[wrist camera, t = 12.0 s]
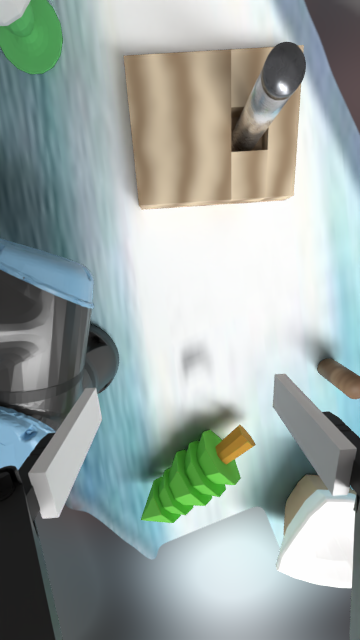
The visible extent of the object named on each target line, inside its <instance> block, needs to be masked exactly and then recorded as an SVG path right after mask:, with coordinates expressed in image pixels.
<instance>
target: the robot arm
mask: <svg viewBox="0 0 360 640" xmlns="http://www.w3.org/2000/svg"><path fill="white" fill-rule="evenodd" d="M93 285H94V279H93V276H92V274H91V272H90V270H89V269H88V268H87V267H85V266H84V265H82V264H80V263H78V262H75V261H72V260H69V259H67V258H64V257H61V256H58V255H55V254H51V253H48V252H45V251H42V250H38V249H35V248H32V247H28V246H25V245H22V244H18V243H15V242H11V241H7V240H4V239H0V640H63V637H62V633H61V629H60V625H59V620H58V616H57V612H56V608H55V603H54V599H53V594H52V590H51V586H50V582H49V578H48V573H47V569H46V564H45V560H44V556H43V551H42V548H41V543H40V539H39V534H38V530H37V526H36V522H35V518H36V516H37V514H38V512H39V510H40V512H41V515H42V518H56V517H59V515H60V513H61V511H62V509H63V506H64V504H65V502H66V500H67V497H68V495H69V493H70V491H71V488H72V486H73V484H74V482H75V479H76V477H77V475H78V473H79V470H80V468H81V466H82V464H83V461H84V459H85V457H86V455H87V452H88V450H89V448H90V446H91V443H92V441H93V439H94V436H95V434H96V432H97V430H98V427H99V425H100V423H101V421H102V416H101V411H100V406H99V401H98V394H99V393H101V392H102V391H103V390H105V389H106V388H107V387H108V386H109V385H110V383H111V382H112V380H113V379H114V377H115V375H116V373H117V370H118V366H119V355H118V351H117V348H116V346H115V344H114V342H113V341H112V339H111V338H110V337H109V336H108V335H107V334H106V333H105V332H104V331H103V330H101V329H100V328H98V327H96V326H94V325H91V324H90V320H91V312H92V308H94V304H93V303H92V299H93ZM273 408H274V409H275V411H276V412H277V414H278V415H279V417H280V418H281V420H282V421H283V423H284V424H285V426H286V427H287V429H288V430H289V432H290V433H291V434H292V436H293V437H294V439H295V440H296V442H297V443H298V445H299V446H300V448H301V449H302V451H303V452H304V454H305V455H306V457H307V458H308V460H309V461H310V463H311V464H312V466H313V467H314V469H315V470H316V472H317V473H318V475H319V476H320V478H321V479H322V481H323V482H324V484H325V485H326V487H327V488H328V490H329V491H330V493H331V494H332V496H337V495H348V493H349V488H350V485H351V487H352V488H353V489H354V491H355V492H356V493H357V494H356V499H355V504H354V509H353V510H354V511H355V524H354V547H353V570H352V594H351V616H350V618H351V619H350V640H360V438H359V437H358V436H357V435H356V434H355V433H354V432H353V431H351V429H350V428H349V427H348V426H347V425H345V423H344V422H343V421H342V420H341V419H340V418H339V417H337V416H335V415H334V414H332V413H330V412H321V411H320V410H319V409H318V408H317V407H316V406H315V404H314V403H313V402H312V401H311V400H310V399H309V398H308V397H307V396H306V395H305V394H304V393H303V392H302V391H301V390H300V389H299V388H298V387H297V386H296V385H295V384H294V383H293V382H292V381H291V379H290V378H289V377H288V376H287V375H286V374H276V375H275V379H274V396H273Z"/></svg>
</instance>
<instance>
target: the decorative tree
mask: <svg viewBox="0 0 360 640" xmlns="http://www.w3.org/2000/svg"><path fill="white" fill-rule="evenodd" d="M253 446H255V443H254V441H253V439H252V438H251V436H250V435H249V434H248V433H247V431H246V430H245V429H244V428H243V427H242V426H241V425H239V426H238V427H237V428H235V429H234V430H233V431H232V432H231V433H230V434H229V435H228V436H227V437H225V438H224V439H223V440H221V439H220V438H219V437H218V436H217V435H216V434H215V433H213V432H212V431H211V430H207V431H204V432H203V433H202V436H201V439H200V442H199V441H198V440H196V441H194V442H191V443H189V446H188V450H187V451H186V450H185V449H184V450H181V451H178V452H176V455H175V458H174V460H173V463H172V466H171V467H170V468H168V469H166V470H165V472H164V474H163V477H160V478H158V479H156V480H154V481H153V485H152V488H151V491H150V494H149V497H148V500H147V503H146V506H145V509H144V512H143V515H142V518H141V520H146V521H157V522H168V523H174V522H175V521H176V520H177V519H178V518H179V517H180V516H181V515H180V514H182V515H186V514H187V513H188V512H189V511H190V510H191V509H192V508H193V505H200V506H206V504H207V503H208V502H209V501H210V500H211V499H212V496H217V497H220V496H221V494H222V493H223V492H224V491H225V490H226V487H225V484H228V485H236V483H237V482H238V481H239V480H240V475H239V471H238V468H237V465H236V462H235V458H237V457H238V456H240V455H241V454H243V453H244V452H246V451H247V450H249V449H250V448H252V447H253Z"/></svg>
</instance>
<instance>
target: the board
mask: <svg viewBox="0 0 360 640" xmlns="http://www.w3.org/2000/svg"><path fill="white" fill-rule="evenodd" d="M298 47H299V48H300V49H301V50H302V52H303V47H304V45H298ZM273 48H274V47H264V48H247V49H230V50H213V51H196V52H178V53H161V54H144V55H127V56H124V65H125V75H126V84H127V94H128V104H129V113H130V123H131V132H132V142H133V152H134V161H135V171H136V180H137V190H138V200H139V206H140V208H141V209H142V210H143V209H158V208H174V207H189V206H205V205H220V204H235V203H251V202H266V201H282V200H286V199H288V198H290V197H292V196H294V181H295V166H296V151H297V137H298V122H299V107H300V92H301V84H300V85H299V87H298V88H297V89H296V91H295V92H294V93H293V94H292V95H291V97H290V98H289V99H288V101H287V102H286V104H285V105H284V106H283V108H282V109H281V110H280V112H279V113H278V115H277V116H276V117H275V119H274V120H273V121H272V123H271V124H270V126H269V127H268V128H267V130H266V131H265V132H264V134H263V135H262V137H261V138H260V139H259V141H258V142H257V143H256V145H255V146H254V148H253V149H252V150H250V151H241V152H238V151H237V150H236V149H235V148H234V147H233V144H232V139H231V138H232V133H233V130H234V128H235V126H236V124H237V122H238V119H239V117H240V115H241V113H242V111H243V109H244V107H245V105H246V102H247V100H248V98H249V96H250V94H251V92H252V90H253V87H254V85H255V83H256V81H257V79H258V77H259V75H260V73H261V70H262V68H263V65H264V63H265V61H266V59H267V56H268V55H269V53H270V52H271V50H272V49H273Z"/></svg>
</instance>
